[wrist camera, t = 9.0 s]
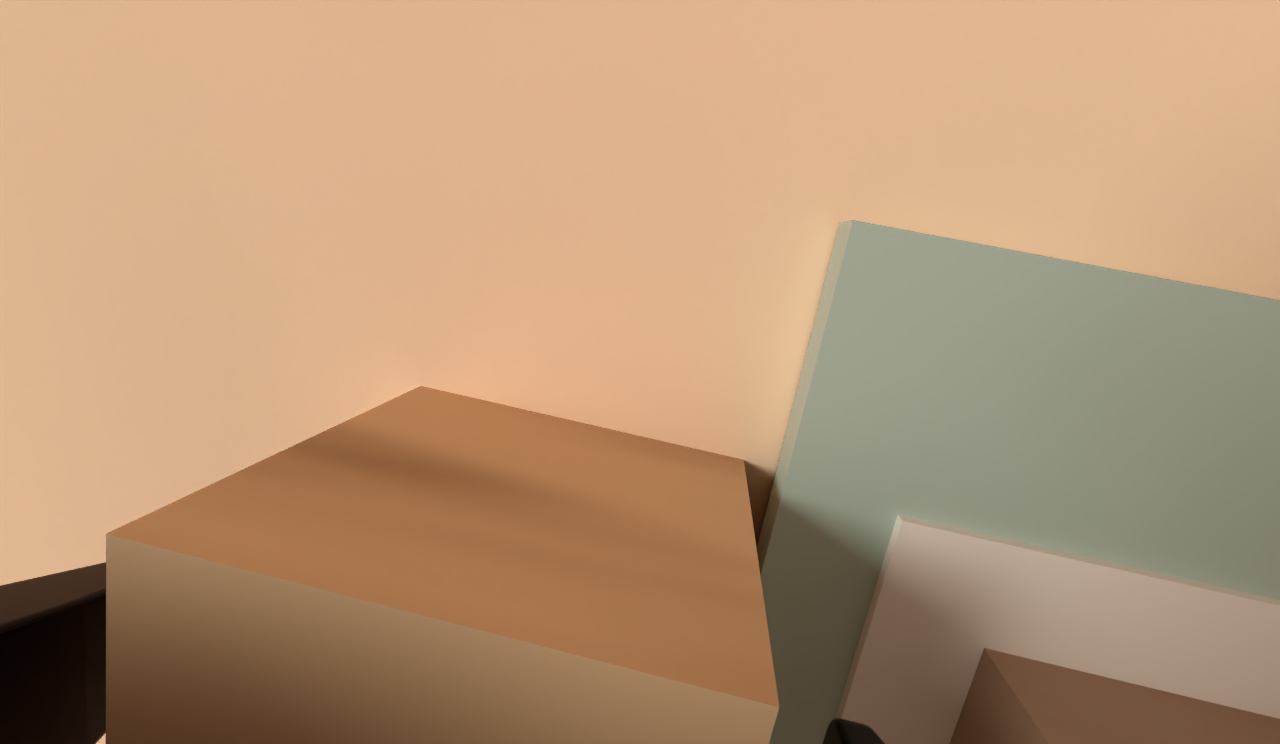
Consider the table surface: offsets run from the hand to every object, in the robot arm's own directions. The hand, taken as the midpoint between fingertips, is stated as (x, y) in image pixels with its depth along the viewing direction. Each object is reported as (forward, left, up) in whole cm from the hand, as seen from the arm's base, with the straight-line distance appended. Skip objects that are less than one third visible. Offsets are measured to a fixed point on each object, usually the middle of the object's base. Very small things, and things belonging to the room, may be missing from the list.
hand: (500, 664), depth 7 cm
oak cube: (0, 0, -3) cm, 3 cm away
